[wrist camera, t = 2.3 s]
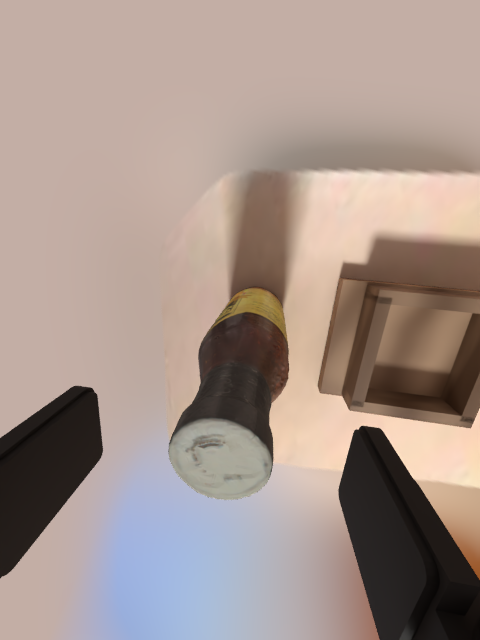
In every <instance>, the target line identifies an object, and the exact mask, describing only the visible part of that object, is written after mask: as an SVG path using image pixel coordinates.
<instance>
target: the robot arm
mask: <svg viewBox="0 0 480 640" xmlns="http://www.w3.org/2000/svg"><path fill="white" fill-rule="evenodd" d="M102 452H103V446H102V436H101V427H100V417H99V407H98V398H97V394H96V393H95V392H94V390H93V389H92V388H89V387H82V386H74V387H72V388H70V389H69V390H68V391H66V392H65V393H63V394H62V395H60V396H59V397H58V398H56V399H55V400H53V401H52V402H51V403H49V404H48V405H46V406H45V407H43V408H42V409H41V410H39V411H38V412H36V413H35V414H34V415H32V416H31V417H29V418H28V419H27V420H25V421H24V422H22V423H21V424H19V425H18V426H17V427H15V428H14V429H12V430H11V431H10V432H8V433H7V434H6V435H4V436H2V437H1V438H0V578H1V577H2V576H5V575H7V574H8V573H9V572H10V571H11V570H12V569H13V568H14V567H15V566H16V564H17V563H18V562H19V561H20V559H21V558H22V557H23V556H24V554H25V553H26V552H27V551H28V549H29V548H30V547H31V545H32V544H33V543H34V542H35V540H36V539H37V538H38V537H39V536H40V534H41V533H42V532H43V530H44V529H45V528H46V527H47V525H48V524H49V523H50V521H51V520H52V519H53V518H54V517H55V515H56V514H57V513H58V512H59V510H60V509H61V508H62V506H63V505H64V504H65V503H66V501H67V500H68V499H69V498H70V496H71V495H72V494H73V493H74V491H75V490H76V489H77V488H78V486H79V485H80V484H81V483H82V481H83V480H84V479H85V478H86V476H87V475H88V474H89V473H90V471H91V470H92V469H93V468H94V466H95V465H96V464H97V462H98V461H99V460H100V458H101V456H102ZM339 500H340V504H341V507H342V511H343V514H344V518H345V521H346V525H347V528H348V532H349V534H350V538H351V542H352V545H353V549H354V552H355V556H356V559H357V562H358V566H359V570H360V573H361V576H362V579H363V583H364V587H365V590H366V594H367V597H368V601H369V604H370V608H371V611H372V614H373V618H374V621H375V625H376V628H377V632H378V635H379V639H380V640H480V580H479V578H478V577H477V575H476V574H475V572H474V571H473V569H472V568H471V566H470V564H469V563H468V561H467V560H466V558H465V557H464V555H463V554H462V552H461V550H460V549H459V547H458V546H457V544H456V543H455V541H454V540H453V538H452V537H451V535H450V533H449V532H448V530H447V529H446V528H445V526H444V524H443V522H442V521H441V519H440V518H439V516H438V515H437V513H436V512H435V510H434V509H433V507H432V505H431V504H430V502H429V501H428V499H427V498H426V496H425V494H424V493H423V491H422V490H421V488H420V487H419V485H418V484H417V483H416V481H415V480H414V479H413V478H412V476H411V475H410V473H409V472H408V470H407V469H406V467H405V465H404V464H403V462H402V461H401V459H400V458H399V456H398V454H397V453H396V451H395V450H394V448H393V447H392V445H391V443H390V442H389V440H388V439H387V437H386V436H385V434H384V432H383V431H382V430H381V429H380V428H375V427H368V426H361V427H360V428H359V430H355V431H354V433H353V437H352V441H351V444H350V448H349V452H348V456H347V459H346V463H345V467H344V470H343V475H342V478H341V482H340V486H339Z"/></svg>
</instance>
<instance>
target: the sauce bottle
mask: <svg viewBox="0 0 480 640" xmlns="http://www.w3.org/2000/svg"><path fill="white" fill-rule="evenodd" d="M288 354H289V350H288V341H287V334H286V327H285V319H284V313H283V308H282V306H281V304H280V302H279V301H278V298H277V297H276V296H275V295H274V294H272V293H271V292H269V291H268V290H265V289H263V288H260V287H252V288H248V289H245V290H242V291H240V292H238V293H237V294H236V295H235V296H234V297H233V298H232V299H231V300H230V302H229V303H228V304H227V306H226V307H225V309H224V310H223V311H222V313H221V314H220V315H219V317H218V318H217V319H216V321H215V323H214V324H213V325H212V327H211V328H210V329H209V331H208V332H207V334H206V336H205V337H204V339H203V341H202V343H201V346H200V349H199V357H198V359H199V369H200V379H201V384H200V387H199V391H198V393H197V395H196V397H195V399H194V401H193V402H192V404H191V405H190V406H189V407H188V408H187V409H186V410H185V411H184V412H183V413H182V415H181V417H180V419H179V421H178V423H177V426H176V428H175V430H174V432H173V434H172V437H171V440H170V443H169V451H168V452H169V458H170V462H171V464H172V466H173V468H174V469H175V471H176V473H177V475H178V476H179V477H180V478H181V479H182V480H183V481H184V482H185V483H187V485H188V486H190V487H191V488H192V489H194V490H195V491H196V492H197V493H200V494H203V495H205V496H207V497H212V498H216V499H223V500H234V499H240V498H243V497H249V496H251V495H252V494H254V493H256V492H258V491H259V490H260V489H261V488H262V487H263V486H264V485H265V484H266V483H267V482H268V480H269V478H270V475H271V472H272V466H273V437H272V433H271V429H270V426H269V411H270V408H271V403H272V402H273V401H274V400H275V399H276V398H277V397H278V396H279V395H280V394H281V392H282V390H283V389H284V387H285V385H286V382H287V380H288V372H289V363H288Z"/></svg>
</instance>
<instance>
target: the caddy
mask: <svg viewBox="0 0 480 640" xmlns="http://www.w3.org/2000/svg"><path fill="white" fill-rule="evenodd" d="M318 388H319V391H320V393H324V394H331V395H338V396H343V398H344V400H345V402H346V404H347V406H348V409H349V410H350V411H357V412H364V413H370V414H377V415H384V416H391V417H397V418H404V419H411V420H418V421H425V422H431V423H438V424H445V425H452V426H459V427H465V428H471V427H472V424H473V422H474V420H475V417H476V415H477V413H478V411H479V408H480V291H472V290H461V289H451V288H440V287H430V286H420V285H409V284H399V283H388V282H378V281H367V280H357V279H346V278H339V283H338V288H337V293H336V298H335V303H334V308H333V313H332V318H331V323H330V328H329V333H328V338H327V343H326V348H325V353H324V358H323V363H322V368H321V373H320V378H319V383H318Z"/></svg>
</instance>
